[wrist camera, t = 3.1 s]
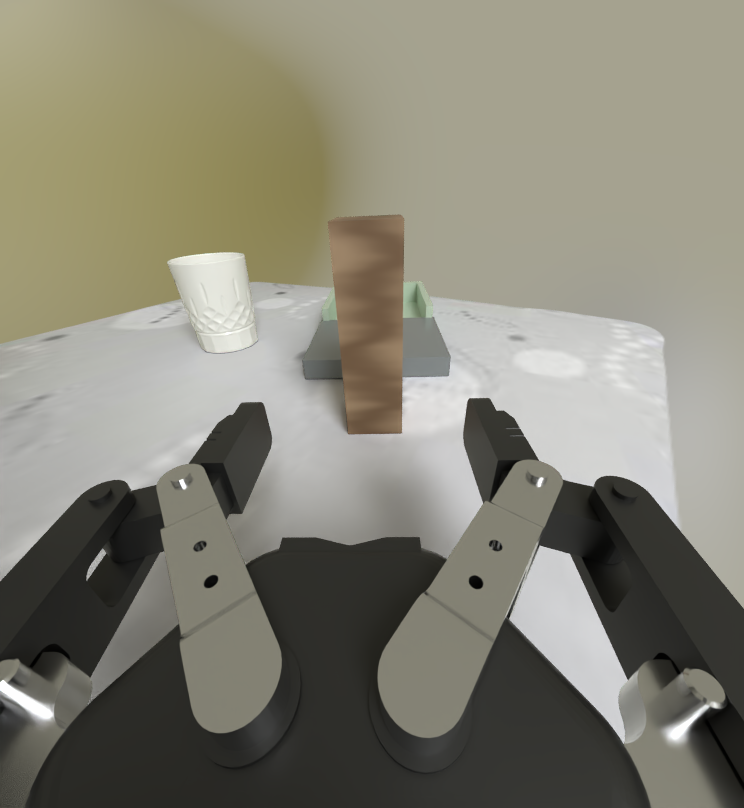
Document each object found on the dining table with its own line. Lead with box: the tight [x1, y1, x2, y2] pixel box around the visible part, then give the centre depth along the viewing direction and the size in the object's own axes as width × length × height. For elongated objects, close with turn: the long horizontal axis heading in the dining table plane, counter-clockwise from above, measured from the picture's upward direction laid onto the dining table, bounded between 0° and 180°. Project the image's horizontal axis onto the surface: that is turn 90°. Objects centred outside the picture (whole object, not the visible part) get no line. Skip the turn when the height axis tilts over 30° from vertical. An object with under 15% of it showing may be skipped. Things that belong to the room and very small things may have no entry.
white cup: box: [167, 252, 258, 353], centre depth 39 cm, size 8×8×10 cm
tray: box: [322, 281, 433, 321], centre depth 47 cm, size 14×13×4 cm
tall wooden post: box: [328, 215, 404, 434], centre depth 23 cm, size 4×4×14 cm
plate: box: [302, 317, 451, 379], centre depth 37 cm, size 14×12×2 cm
